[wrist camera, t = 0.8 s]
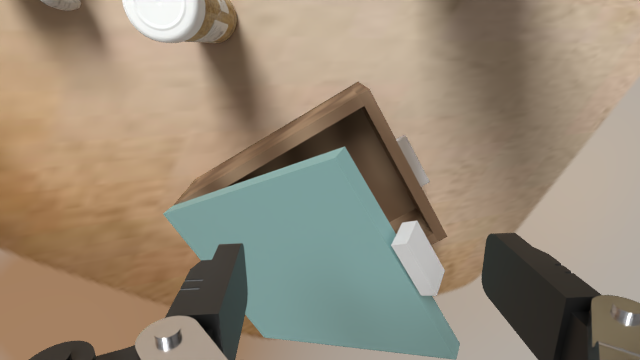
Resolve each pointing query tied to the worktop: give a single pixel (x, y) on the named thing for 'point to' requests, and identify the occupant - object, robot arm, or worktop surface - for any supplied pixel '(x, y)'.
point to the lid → (324, 259)
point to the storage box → (330, 134)
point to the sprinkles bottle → (182, 19)
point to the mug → (63, 4)
